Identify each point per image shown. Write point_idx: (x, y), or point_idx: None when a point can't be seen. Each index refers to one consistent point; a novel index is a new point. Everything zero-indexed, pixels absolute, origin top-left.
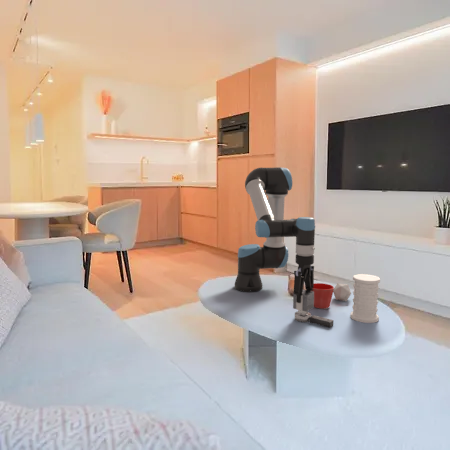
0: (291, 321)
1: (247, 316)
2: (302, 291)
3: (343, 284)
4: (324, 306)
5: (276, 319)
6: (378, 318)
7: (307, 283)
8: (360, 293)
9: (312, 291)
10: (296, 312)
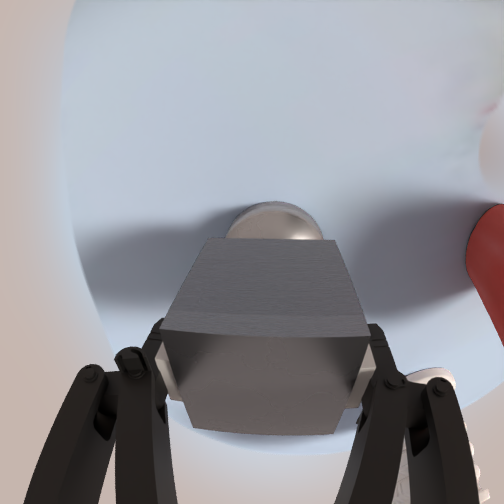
0: (199, 213)
1: (105, 2)
2: (167, 430)
3: None
4: (472, 281)
5: (164, 128)
6: None
7: (350, 470)
8: (399, 485)
9: (329, 427)
10: (269, 221)
